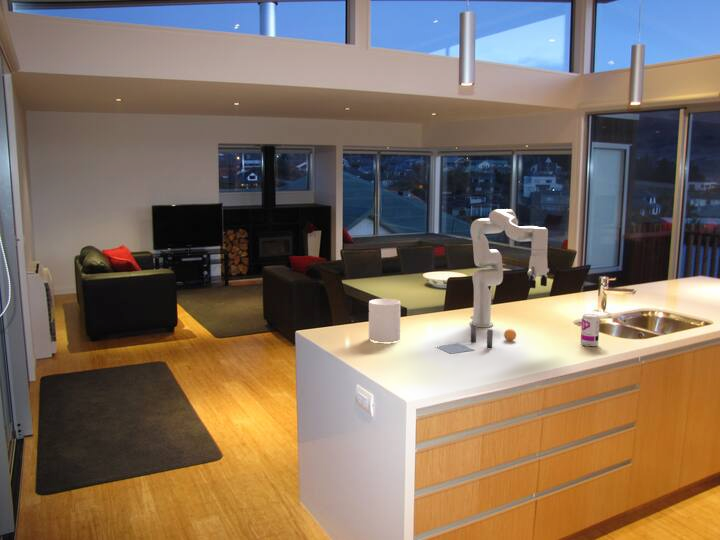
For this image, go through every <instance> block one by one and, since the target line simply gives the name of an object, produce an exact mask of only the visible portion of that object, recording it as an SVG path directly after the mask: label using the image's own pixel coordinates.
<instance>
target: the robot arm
mask: <svg viewBox="0 0 720 540" xmlns="http://www.w3.org/2000/svg"><path fill="white" fill-rule="evenodd" d="M503 231H504V233H505V234H506V237H508V238H510V239H511V240H514V241H516V242H531V251H530V253H531V254H530V257H529V264H528V271H527V276H528V280H529V284H528V287H529V288H530V289H536V288H537V287H536V285H537V283H536V278H537V277H540V286H542V287H547V283H548V277H549V276H548V275H549V272H550V268H549V267H548V265H549V264H548V240H549V239H548V237H549V230H548V228H546V227H545V226H543V227H542V226H541V227H540V226H535V225H524V226H519V220H518V218H517V215H516V213H515V212H514V210H513V209H510V208H509V209H508V208H506V209H505V208H504V209H503V208H501V209H500V208H498V209H493V210H491V212H490V213H489V215H488V217H485V218H484V217H483V218H476V219H475V220H474V221H472V222H471V225H470V236H471V240H472V247H473V248H472V249H473V260H474V264H475V266H476V267H480V268H481V269H478V270H475V271H474V272H473V274H472V278H471V279H472V284H473V310H472V311H473V315H472V316H470V317H469V318H470V319H471V320H472V321H471V322H470V326H471V324H476V328H491V327H493V326H494V323H493V322H492V321H491V314H492V313H491V312H492V311H491V310H492V308H491V307H492V292H491V290H490V289H489V287H492V286H499V285H500V284H501V283H503V279H504V270H503V269H504V268H503V258H502V254H501V252H500V251H499V250H497V249H494V248H491V249H490V247H489V240H488V238H487V237H486V235H488V234H500V233H503ZM484 267H485V268H484ZM486 267H489V268H486ZM482 268H483V269H482Z"/></svg>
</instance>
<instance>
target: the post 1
mask: <svg viewBox="0 0 720 540" xmlns="http://www.w3.org/2000/svg"><path fill="white" fill-rule="evenodd" d="M476 342H477V327H476V324H471V325H470V343H476Z"/></svg>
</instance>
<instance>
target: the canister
mask: <svg viewBox="0 0 720 540" xmlns="http://www.w3.org/2000/svg"><path fill="white" fill-rule="evenodd" d="M401 303H402V302H401V301H400V300H398V299H393V298H375V299H371V300H369V301H368V340H369V339H371V340H374V341H378V342H394V341H398V340H400V341H401Z"/></svg>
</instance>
